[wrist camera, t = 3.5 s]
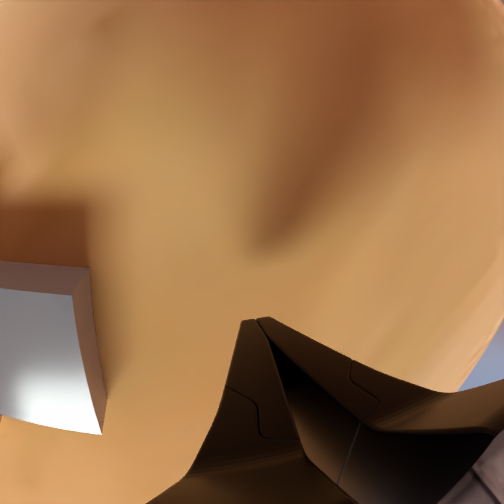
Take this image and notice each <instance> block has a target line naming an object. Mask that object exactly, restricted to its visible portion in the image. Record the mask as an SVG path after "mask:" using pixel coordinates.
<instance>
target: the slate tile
mask: <svg viewBox="0 0 504 504" xmlns="http://www.w3.org/2000/svg"><path fill="white" fill-rule="evenodd" d="M106 404H107V394H106V389H105V385H104V380H103V374H102V369H101V363H100V358H99V351H98V345H97V338H96V331H95V323H94V314H93V305H92V294H91V282H90V267H76V266H62V265H49V264H36V263H24V262H12V261H0V415H4V416H7V417H11V418H15V419H19V420H23V421H27V422H31V423H35V424H40V425H44V426H49V427H54V428H60V429H65V430H71V431H78V432H84V433H92V434H100V435H102V430H103V423H104V417H105V410H106Z"/></svg>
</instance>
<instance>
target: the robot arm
mask: <svg viewBox="0 0 504 504" xmlns="http://www.w3.org/2000/svg"><path fill="white" fill-rule="evenodd" d="M146 504H504V379H502V380H499V381H496V382H493V383H489V384H486V385H483V386H479V387H476V388H472V389H468V390H464V391H460V392H454V393H443V392H437V391H433V390H430V389H427V388H424V387H421V386H418V385H415V384H412V383H409V382H406V381H403V380H400V379H398V378H395V377H392V376H389V375H387V374H384V373H382V372H379V371H377V370H375V369H372V368H370V367H368V366H366V365H363V364H361V363H359V362H357V361H355V360H352V359H351V358H349V357H347V356H345V355H343V354H341V353H339V352H337V351H335V350H333V349H331V348H329V347H327V346H325V345H323V344H321V343H319V342H317V341H315V340H313V339H311V338H309V337H307V336H305V335H304V334H302V333H300V332H298V331H296V330H294V329H292V328H290V327H288V326H286V325H284V324H283V323H281V322H279V321H277V320H275V319H273V318H271V317H262V318H257V319H256V320H255V319H249V320H243V321H242V322H241V324H240V328H239V332H238V336H237V340H236V344H235V348H234V352H233V356H232V360H231V364H230V368H229V372H228V376H227V380H226V384H225V388H224V391H223V395H222V399H221V402H220V405H219V408H218V411H217V414H216V416H215V418H214V421H213V423H212V426H211V428H210V430H209V432H208V434H207V436H206V438H205V440H204V442H203V444H202V446H201V448H200V450H199V452H198V454H197V456H196V458H195V460H194V462H193V464H192V466H191V467H190V469H189V471H188V472H187V473H186V475H185V476H184V477H183V478H182V479H181V480H180V481H178V482H177V483H175V484H174V485H173V486H171V487H170V488H168V489H167V490H165V491H164V492H163V493H161V494H160V495H158V496H157V497H155V498H154V499H152V500H151V501H149V502H148V503H146Z"/></svg>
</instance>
